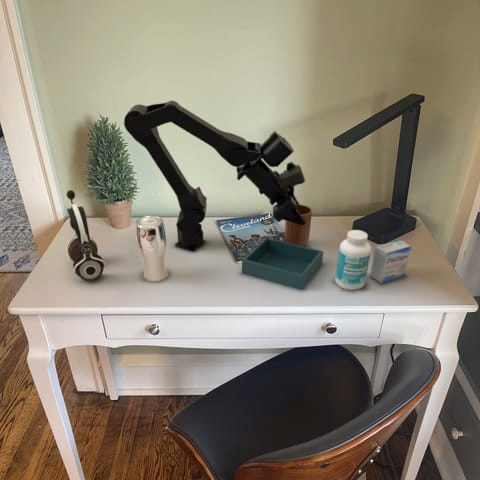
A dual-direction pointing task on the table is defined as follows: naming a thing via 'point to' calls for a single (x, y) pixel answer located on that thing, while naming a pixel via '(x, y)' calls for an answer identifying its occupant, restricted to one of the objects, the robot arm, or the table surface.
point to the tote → (282, 263)
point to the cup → (299, 227)
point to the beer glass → (152, 246)
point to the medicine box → (390, 261)
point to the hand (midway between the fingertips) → (303, 218)
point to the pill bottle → (353, 260)
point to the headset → (83, 245)
